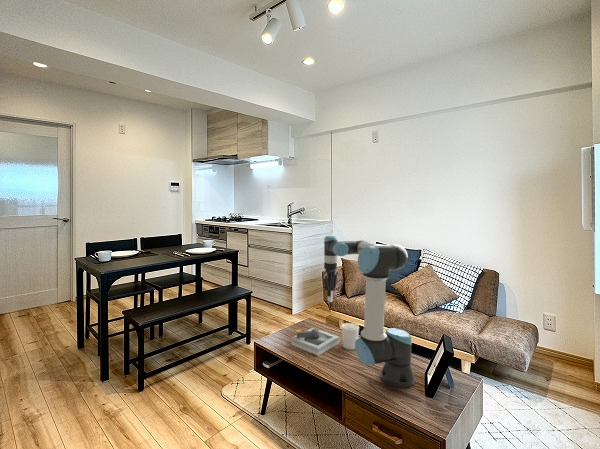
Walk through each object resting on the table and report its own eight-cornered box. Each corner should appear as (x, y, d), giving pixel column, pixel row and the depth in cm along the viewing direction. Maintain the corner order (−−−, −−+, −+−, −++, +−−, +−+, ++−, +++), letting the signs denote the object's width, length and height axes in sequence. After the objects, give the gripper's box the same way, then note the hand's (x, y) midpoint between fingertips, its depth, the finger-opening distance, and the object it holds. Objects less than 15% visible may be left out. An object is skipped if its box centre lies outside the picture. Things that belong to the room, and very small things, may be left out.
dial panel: (339, 343, 188) (339, 336, 188) (318, 355, 173) (318, 348, 173) (312, 333, 201) (312, 327, 201) (291, 344, 186) (291, 337, 186)
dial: (325, 335, 194) (325, 325, 193) (327, 345, 181) (327, 334, 180) (296, 335, 193) (296, 326, 193) (297, 345, 180) (297, 335, 180)
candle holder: (340, 348, 181) (340, 328, 180) (343, 341, 191) (343, 322, 190) (357, 351, 178) (357, 330, 177) (359, 343, 187) (360, 324, 187)
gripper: (331, 259, 195) (331, 297, 197) (318, 263, 185) (318, 302, 187) (342, 261, 190) (341, 300, 192) (329, 264, 180) (328, 305, 182)
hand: (330, 301), depth 189 cm, fingers closed
